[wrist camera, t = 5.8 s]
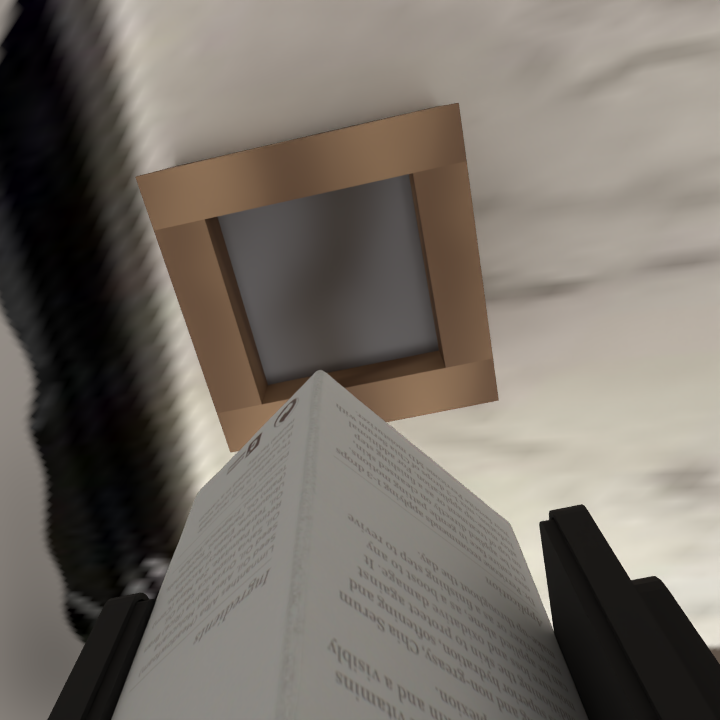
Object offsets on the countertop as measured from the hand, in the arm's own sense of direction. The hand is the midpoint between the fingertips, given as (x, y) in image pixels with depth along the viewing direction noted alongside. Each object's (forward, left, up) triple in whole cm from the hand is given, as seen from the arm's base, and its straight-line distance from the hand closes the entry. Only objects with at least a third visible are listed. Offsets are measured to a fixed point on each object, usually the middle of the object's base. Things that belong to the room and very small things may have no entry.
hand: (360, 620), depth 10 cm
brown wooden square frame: (+1, -2, -20) cm, 20 cm away
